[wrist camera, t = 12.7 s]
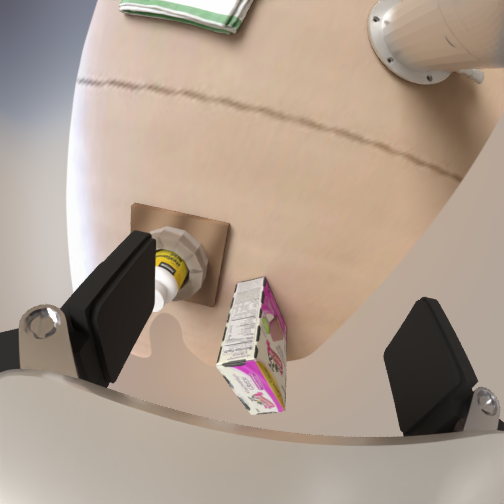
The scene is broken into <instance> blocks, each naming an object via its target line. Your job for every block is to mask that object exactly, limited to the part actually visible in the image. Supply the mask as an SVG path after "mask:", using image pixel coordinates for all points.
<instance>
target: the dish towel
mask: <svg viewBox="0 0 504 504" xmlns="http://www.w3.org/2000/svg"><path fill="white" fill-rule="evenodd" d="M252 2H253V0H122V1H121V3H120V5H119V7H120V9H119V11H120V12H122V13H127V14H131V15H139V16H144V17H152V18H160V19H166V20H172V21H177V22H181V23H186V24H190V25H194V26H197V27H200V28H203V29H207V30H211V31H214V32H218V33H225V34H228V35H229V34H230V33H231V32H232V33H236V32H237V29H238V28H239V26H240V25H241V23H242V21H243V19H244V18H245V16H246V14H247V11H248V10H249V8H250V6H251V4H252Z"/></svg>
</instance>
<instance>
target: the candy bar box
mask: <svg viewBox="0 0 504 504" xmlns="http://www.w3.org/2000/svg"><path fill="white" fill-rule="evenodd" d="M286 352H287V327H286V325H285V322H284V320H283V318H282V315H281V313H280V311H279V309H278V306H277V304H276V301H275V299H274V297H273V294H272V292H271V289H270V287H269V285H268V282H267V280H266V277H260V278H256V279H253V280H249V281H245V282H241V283H237V284H236V288H235V292H234V295H233V300H232V304H231V308H230V312H229V315H228V320H227V323H226V327H225V332H224V336H223V340H222V344H221V348H220V352H219V356H218V360H217V364H216V367H217V368H218V370H219V371H220V373H221V374H222V375H223V377H224V378H225V380H226V381H227V382H228V384H229V385H230V387H231V388H232V389H233V391H234V392H235V393H236V395H237V396H238V398H239V399H240V400H241V402H242V403H243V404H244V406H245V407H246V409H247V410H248V411H249V412H250V414H251V415H257V414H267V413H272V412H274V413H278V412H282V411H285V399H286Z"/></svg>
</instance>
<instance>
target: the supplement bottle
mask: <svg viewBox="0 0 504 504" xmlns="http://www.w3.org/2000/svg"><path fill="white" fill-rule="evenodd" d="M188 272H189V269H188V267H187V265H186V262H185V260H184V259H182V258H181V257H180V256H179V255H177V254H176V253H175V252H173V251H169V250H165V249H159V250H158V251H157V252H156V267H155V305H154V309H153V311H152V312H158V311H160V310H161V309H162V308H163V307H164V305H165V304H166V303H168V302H170V301H172V300H173V299H174V298H175V296H176V295H177V293H178V291H179V289H180V287H181V285H182V283H183V281H184V279H185V278H186V276H187V274H188Z"/></svg>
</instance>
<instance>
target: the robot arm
mask: <svg viewBox="0 0 504 504" xmlns="http://www.w3.org/2000/svg"><path fill="white" fill-rule="evenodd" d="M373 19H374V20H376V22H374V21H373ZM367 30H368V36H369V40H370V42H371V45H372V47H373V49H374V51H375V53H376V55H377V56H378V57H379V59H380V60H381V61H382V63H383V64H384V65H385V66H386V67H387V68H388V69H389V70H390V71H392V72H393V73H394V74H396V75H397V76H399V77H401V78H402V79H404V80H406V81H409V82H412V83H416V84H422V85H424V84H426V85H429V84H436V83H439V82H441V81H444V80H445V79H446V78H448V77H449V76H450V75H451V73H452V72H457V73H458V74H462V73H463V74H465V75H467V77H468V78H470V79H472V80H473V81H475V82H476V83H478V84H480V83H482V82H483V80H484V73H483V72H482V71H480V70H479V69H484V68H504V0H401V1H400V0H380V1H379V2H377V4H376V5H375V6H374V7H373V8H372V10H371V12H370V14H369V18H368V25H367ZM387 59H389V60H390V63H389V62H388V61H387ZM427 77H428V80H427ZM155 267H156V239H153V238H152V235H151V233H147V232H142V231H138V230H134V231H133V232H132V233H131V234H130V235H129V236H128V237H127V238H126V239H125V240H124V241H123V242H122V243H121V244H120V245H119V246H118V247H117V248H116V249H115V250H114V251H113V252H112V253H111V254H110V255H109V256H108V257H107V259H106V260H105V261H104V262H102V263H100V264H99V265H98V266H97V267H96V269H95V270H94V271H93V272H92V273H91V274H90V275H89V276H88V277H87V278H86V280H85V281H84V282H83V283H82V284H81V285H80V286H79V287H78V289H77V290H76V291H75V292H74V293H73V294H72V295H71V297H70V298H69V299H68V300H67V301H66V302H65V304H64V305H63V306H62V307H61V308H60V309H59V308H57V307H56V306H53V305H38V306H35V307H33V308H31V309H29V310H28V311H27V312H26V313H25V314H24V315H23V316H22V318H21V320H20V323H19V328H18V329H14V330H10V331H5V332H1V333H0V504H504V422H503V421H501V420H500V419H499V416H500V405H499V401H498V399H497V397H496V396H495V395H494V394H493V393H492V392H491V391H490V390H489V389H487V388H484V387H478V388H477V389H476V390H475V391H474V392H473V391H472V387H473V386H474V385H475V384H476V383H477V382H478V380H477V377H476V375H475V373H474V370H473V368H472V366H471V364H470V362H469V360H468V358H467V355H466V353H465V351H464V349H463V348H462V345H461V343H460V341H459V339H458V337H457V335H456V333H455V331H454V330H453V328H452V326H451V324H450V322H449V320H448V318H447V317H446V315H445V313H444V311H443V309H442V308H441V306H440V304H439V303H438V301H437V300H436V299H432V298H427V297H422V298H421V299H420V300H418V301H416V303H415V304H414V306H413V308H412V309H411V311H410V313H409V314H408V316H407V318H406V319H405V321H404V322H403V324H402V325H401V327H400V329H399V330H398V332H397V333H396V335H395V336H394V338H393V339H392V341H391V342H390V344H389V345H388V347H387V348H386V350H385V352H384V362H385V365H386V370H387V373H388V378H389V382H390V386H391V390H392V394H393V399H394V402H395V408H396V412H397V417H398V422H399V426H400V430H401V431H402V432H403V435H404V436H403V437H341V436H323V435H310V434H299V433H291V432H283V431H275V430H268V429H261V428H255V427H249V426H243V425H238V424H233V423H228V422H223V421H218V420H214V419H209V418H205V417H201V416H196V415H192V414H188V413H185V412H181V411H178V410H174V409H171V408H167V407H163V406H160V405H157V404H153V403H149V402H147V401H144V400H140V399H137V398H134V397H131V396H128V395H125V394H123V393H119V392H117V391H114V390H111V389H108V388H107V387H108V385H109V383H110V382H111V383H114V382H115V381H116V380H117V378H118V376H119V374H120V372H121V370H122V368H123V366H124V364H125V362H126V360H127V358H128V356H129V354H130V352H131V350H132V348H133V347H134V345H135V343H136V341H137V339H138V337H139V335H140V333H141V331H142V330H143V328H144V326H145V324H146V322H147V320H148V319H149V317H150V315H151V313H152V311H153V309H154V305H155Z"/></svg>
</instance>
